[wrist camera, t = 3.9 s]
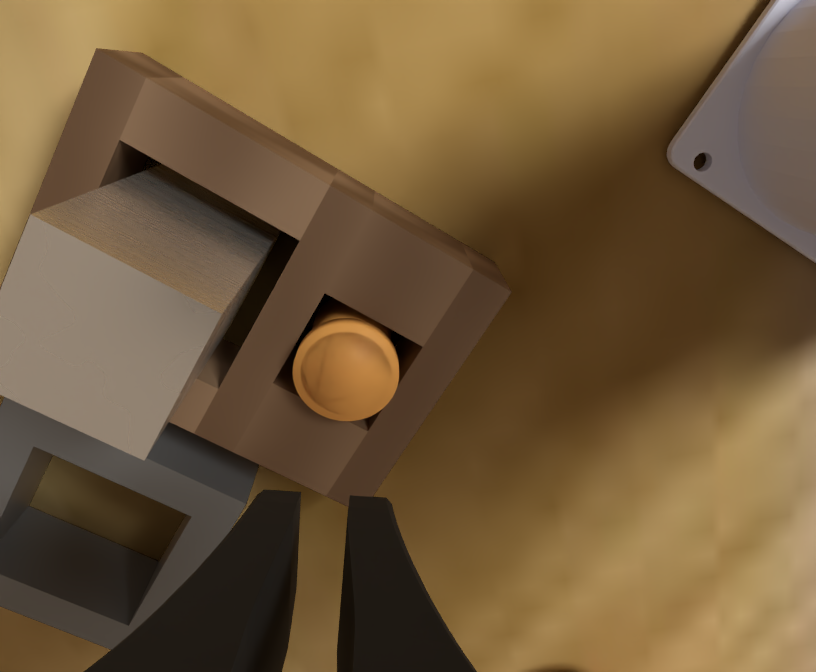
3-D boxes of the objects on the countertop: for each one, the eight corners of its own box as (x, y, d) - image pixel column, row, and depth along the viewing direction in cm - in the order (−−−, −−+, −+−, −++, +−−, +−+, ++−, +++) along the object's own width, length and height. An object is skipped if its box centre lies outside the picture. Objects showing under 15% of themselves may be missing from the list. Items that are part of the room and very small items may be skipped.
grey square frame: (264, 450, 22) (246, 503, 20) (176, 597, 25) (149, 664, 22) (57, 351, 21) (5, 393, 18) (-17, 516, 23) (-73, 577, 20)
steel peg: (284, 224, 20) (221, 314, 12) (232, 322, 21) (144, 460, 13) (171, 160, 19) (30, 214, 11) (122, 266, 20) (-36, 378, 13)
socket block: (494, 262, 20) (511, 292, 17) (364, 459, 23) (361, 513, 20) (141, 52, 18) (96, 48, 15) (38, 297, 20) (-18, 333, 17)
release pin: (414, 315, 20) (419, 356, 17) (369, 387, 21) (366, 437, 18) (334, 271, 20) (324, 305, 17) (290, 345, 21) (274, 391, 18)
